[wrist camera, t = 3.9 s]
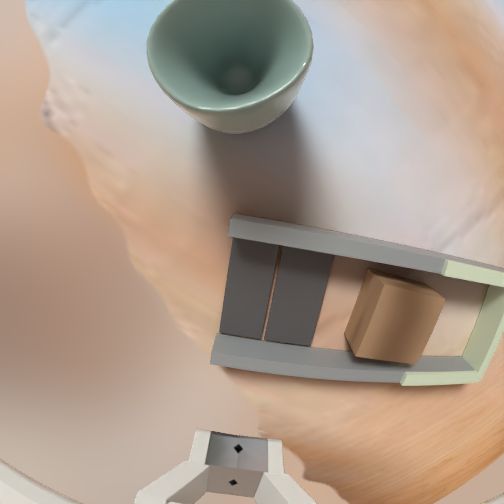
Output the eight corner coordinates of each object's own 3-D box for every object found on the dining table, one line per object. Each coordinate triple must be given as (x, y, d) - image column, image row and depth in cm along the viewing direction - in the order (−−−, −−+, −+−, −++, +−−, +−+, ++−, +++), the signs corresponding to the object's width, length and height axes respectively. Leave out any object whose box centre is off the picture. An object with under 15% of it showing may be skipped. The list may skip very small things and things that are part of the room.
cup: (312, 112, 21) (346, 68, 11) (221, 159, 22) (190, 146, 12) (261, 34, 20) (259, -41, 10) (174, 79, 21) (122, 26, 11)
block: (423, 282, 24) (445, 299, 20) (399, 341, 25) (416, 364, 22) (367, 267, 24) (384, 284, 20) (343, 332, 25) (355, 356, 21)
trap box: (501, 267, 23) (522, 277, 20) (464, 365, 26) (479, 382, 22) (234, 213, 23) (229, 219, 20) (215, 344, 26) (209, 367, 22)
